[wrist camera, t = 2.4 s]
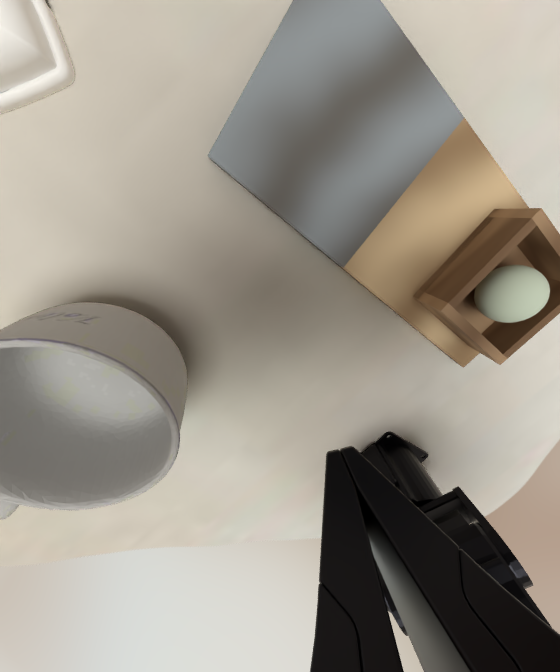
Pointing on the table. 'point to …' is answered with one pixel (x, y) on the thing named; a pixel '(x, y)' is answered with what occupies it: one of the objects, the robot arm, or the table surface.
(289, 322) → the table surface
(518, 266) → the sage ball
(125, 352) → the teacup
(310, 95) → the flat board
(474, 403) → the table surface
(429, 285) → the walnut box
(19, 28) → the soap
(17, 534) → the table surface
